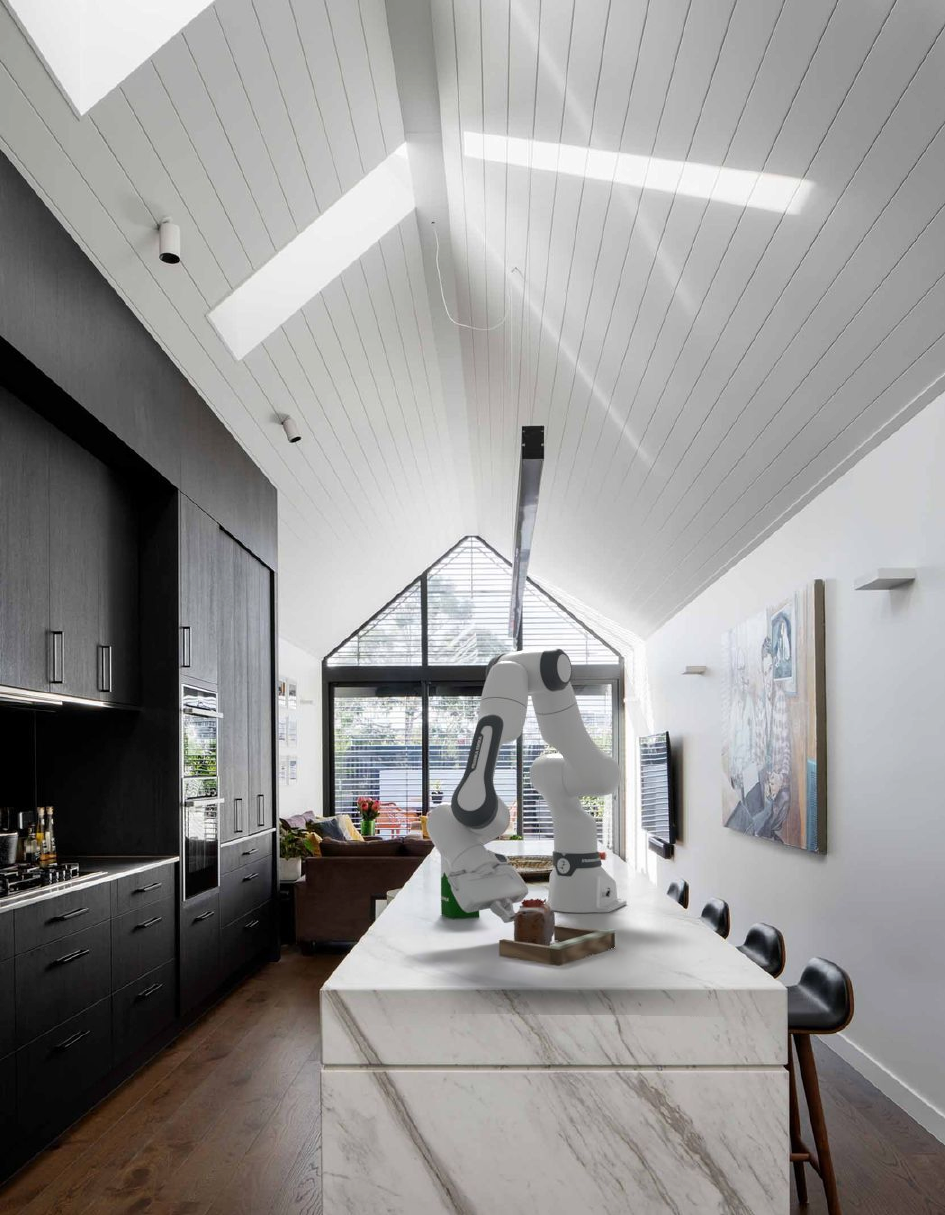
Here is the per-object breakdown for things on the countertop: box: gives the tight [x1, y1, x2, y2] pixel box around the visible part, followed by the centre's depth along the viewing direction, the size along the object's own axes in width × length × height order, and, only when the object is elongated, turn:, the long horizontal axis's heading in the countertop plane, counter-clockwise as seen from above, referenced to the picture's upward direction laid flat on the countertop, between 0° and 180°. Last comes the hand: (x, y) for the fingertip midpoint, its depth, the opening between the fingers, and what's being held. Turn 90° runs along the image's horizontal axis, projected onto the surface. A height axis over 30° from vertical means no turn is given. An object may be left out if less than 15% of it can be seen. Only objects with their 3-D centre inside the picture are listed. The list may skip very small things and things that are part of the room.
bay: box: [498, 924, 616, 967], centre depth 199 cm, size 21×14×4 cm, turn 141°
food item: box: [513, 898, 556, 946], centre depth 204 cm, size 14×8×10 cm, turn 172°
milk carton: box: [440, 855, 480, 920], centre depth 241 cm, size 9×9×20 cm
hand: (511, 920), depth 206 cm, fingers closed
